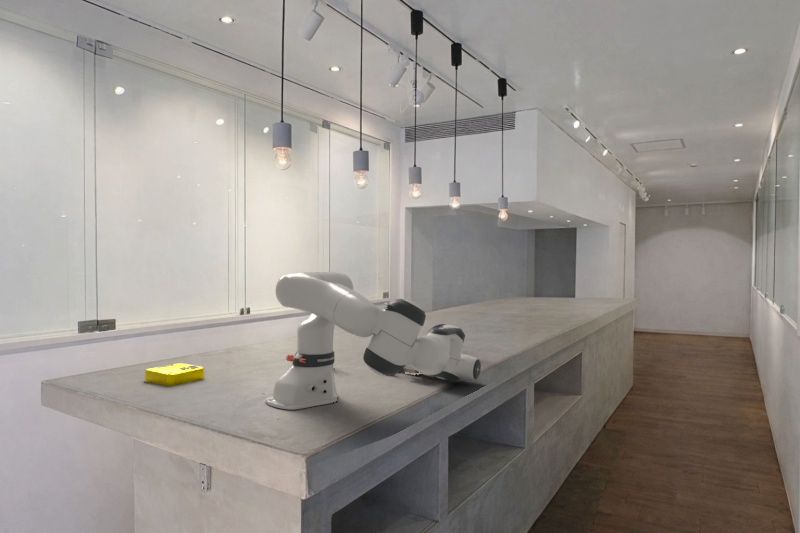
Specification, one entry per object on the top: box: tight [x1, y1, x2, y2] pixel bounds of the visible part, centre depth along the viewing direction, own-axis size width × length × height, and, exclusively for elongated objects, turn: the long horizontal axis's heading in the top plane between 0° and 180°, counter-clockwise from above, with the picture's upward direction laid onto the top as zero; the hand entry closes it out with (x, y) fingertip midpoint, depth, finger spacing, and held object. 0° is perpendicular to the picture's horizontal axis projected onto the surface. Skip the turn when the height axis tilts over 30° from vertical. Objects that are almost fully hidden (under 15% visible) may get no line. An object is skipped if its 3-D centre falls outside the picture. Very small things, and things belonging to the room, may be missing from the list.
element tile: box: [144, 362, 205, 387], centre depth 190 cm, size 15×15×5 cm
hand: (410, 358), depth 203 cm, fingers open, 8 cm apart
